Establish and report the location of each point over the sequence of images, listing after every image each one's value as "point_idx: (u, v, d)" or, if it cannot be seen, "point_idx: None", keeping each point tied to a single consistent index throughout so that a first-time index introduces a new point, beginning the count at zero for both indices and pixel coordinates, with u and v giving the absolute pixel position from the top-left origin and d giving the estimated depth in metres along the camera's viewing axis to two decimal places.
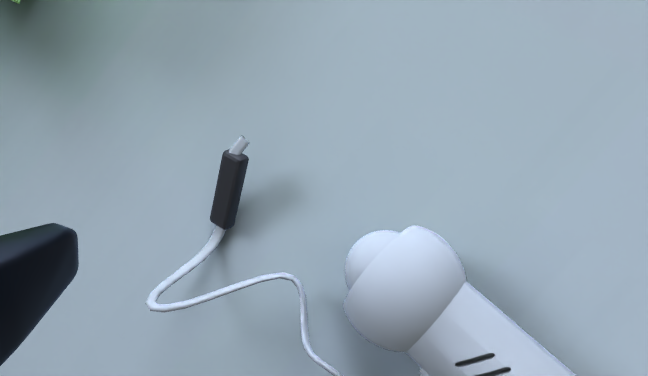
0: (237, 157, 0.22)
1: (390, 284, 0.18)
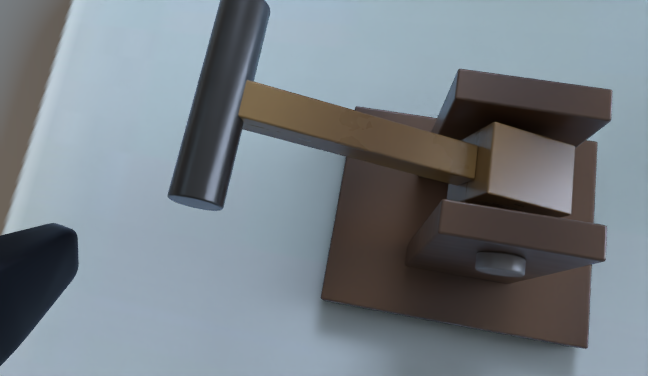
0: None
1: None
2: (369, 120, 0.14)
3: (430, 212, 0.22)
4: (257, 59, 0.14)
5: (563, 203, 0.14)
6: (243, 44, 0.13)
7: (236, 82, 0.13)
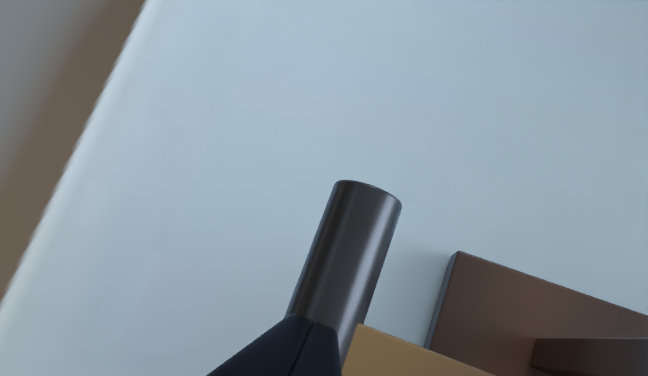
0: None
1: None
2: None
3: None
4: (375, 285, 0.09)
5: None
6: (360, 271, 0.09)
7: (342, 331, 0.09)
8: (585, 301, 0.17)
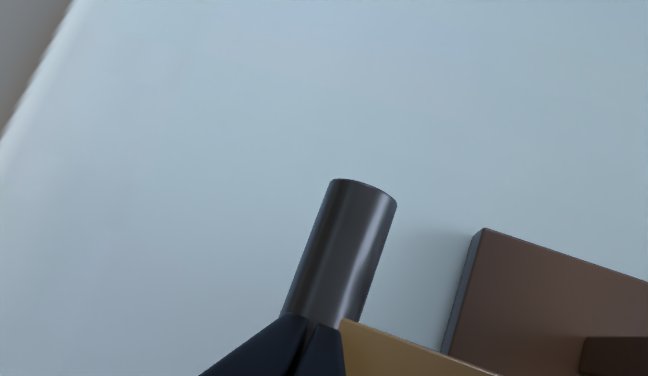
0: None
1: None
2: None
3: None
4: (366, 280, 0.09)
5: None
6: (339, 263, 0.09)
7: None
8: (646, 290, 0.13)
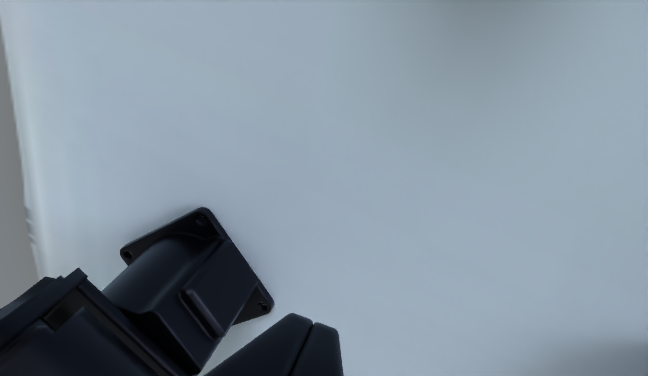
0: None
1: None
2: None
3: None
4: None
5: None
6: None
7: None
8: None
